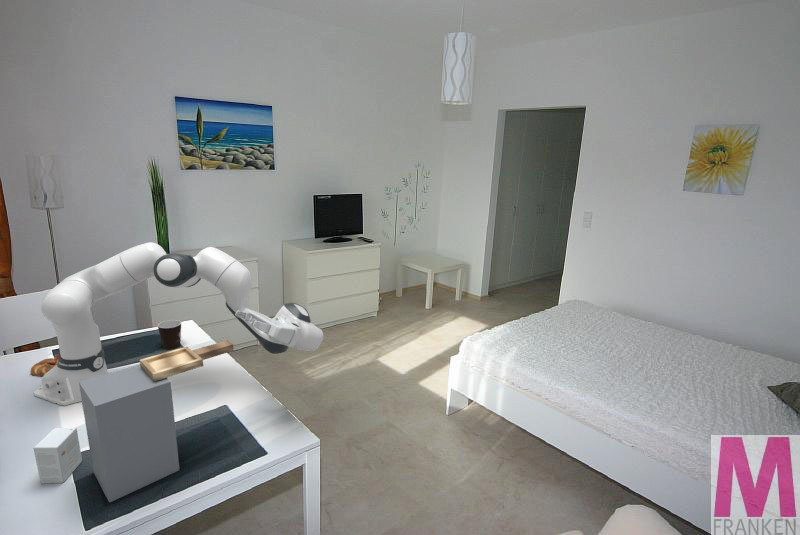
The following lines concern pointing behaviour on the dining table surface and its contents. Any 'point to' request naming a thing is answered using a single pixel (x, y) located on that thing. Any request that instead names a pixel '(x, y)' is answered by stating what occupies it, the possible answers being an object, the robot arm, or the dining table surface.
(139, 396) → the tall grey pillar block
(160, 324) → the coffee mug
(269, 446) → the dining table surface
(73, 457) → the small box
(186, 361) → the oak tray
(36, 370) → the pretzel
